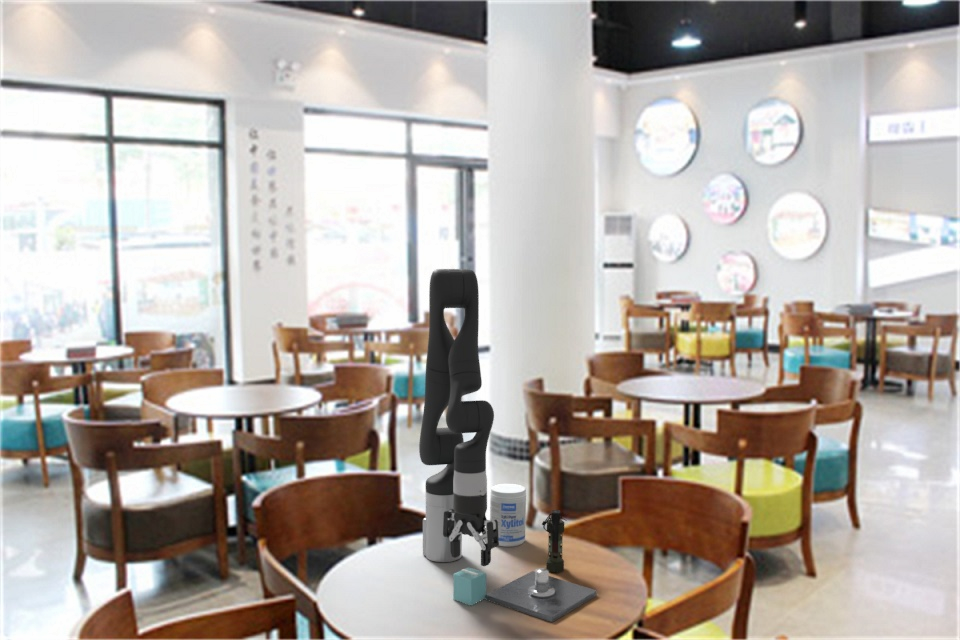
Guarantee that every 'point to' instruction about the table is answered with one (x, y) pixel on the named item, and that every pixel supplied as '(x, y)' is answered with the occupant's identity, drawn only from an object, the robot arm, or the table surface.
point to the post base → (541, 595)
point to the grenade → (555, 541)
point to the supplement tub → (509, 513)
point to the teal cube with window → (469, 586)
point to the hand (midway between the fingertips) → (470, 561)
